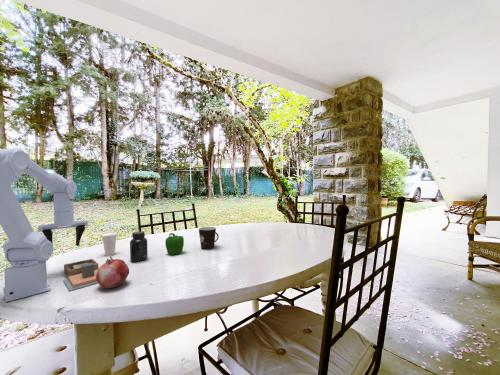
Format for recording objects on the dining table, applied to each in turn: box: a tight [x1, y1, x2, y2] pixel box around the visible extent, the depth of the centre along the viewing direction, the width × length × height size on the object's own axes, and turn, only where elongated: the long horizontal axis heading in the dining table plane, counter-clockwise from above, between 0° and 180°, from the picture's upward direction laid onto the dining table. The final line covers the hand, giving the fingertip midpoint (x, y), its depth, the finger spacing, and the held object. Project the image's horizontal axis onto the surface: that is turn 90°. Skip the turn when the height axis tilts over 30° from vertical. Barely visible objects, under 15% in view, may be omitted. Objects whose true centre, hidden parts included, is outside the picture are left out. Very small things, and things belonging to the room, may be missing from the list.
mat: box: [63, 278, 99, 292], centre depth 79 cm, size 12×11×1 cm
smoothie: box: [101, 224, 118, 257], centre depth 108 cm, size 6×6×14 cm
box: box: [63, 258, 100, 279], centre depth 86 cm, size 9×9×3 cm
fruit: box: [96, 255, 130, 289], centre depth 74 cm, size 9×10×10 cm
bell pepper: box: [164, 232, 185, 256], centre depth 108 cm, size 8×8×10 cm
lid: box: [67, 262, 98, 288], centre depth 79 cm, size 10×10×5 cm
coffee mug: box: [198, 226, 220, 251], centre depth 115 cm, size 12×9×10 cm
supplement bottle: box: [129, 231, 149, 264], centre depth 99 cm, size 7×7×12 cm
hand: (65, 247), depth 86 cm, fingers open, 7 cm apart
